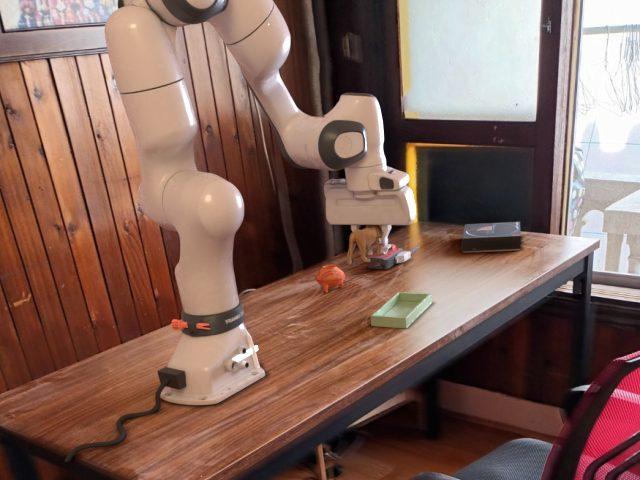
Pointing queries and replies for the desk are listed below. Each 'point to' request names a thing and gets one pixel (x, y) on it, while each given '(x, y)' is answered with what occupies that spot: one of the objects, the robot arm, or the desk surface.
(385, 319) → the tray
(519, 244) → the portable cd player
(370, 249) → the lion figurine
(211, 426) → the desk surface
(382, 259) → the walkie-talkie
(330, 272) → the pot
